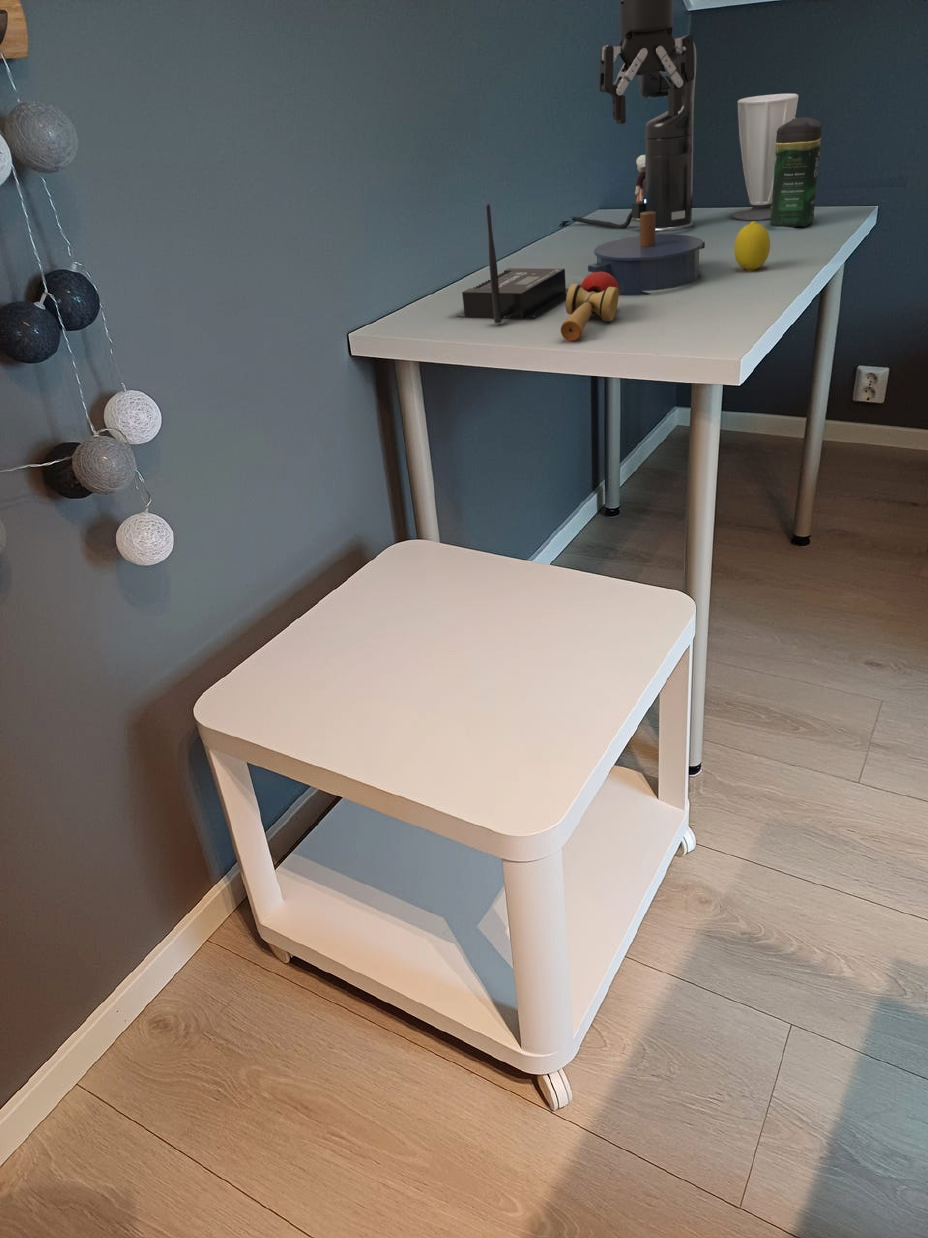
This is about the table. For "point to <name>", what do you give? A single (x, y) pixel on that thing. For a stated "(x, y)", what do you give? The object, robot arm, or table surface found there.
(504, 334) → the table surface
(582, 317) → the kendama
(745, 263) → the lemon
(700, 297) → the table surface
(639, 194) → the grandmother figurine
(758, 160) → the cup
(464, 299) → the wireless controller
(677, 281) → the pan
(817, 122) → the coffee jar
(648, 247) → the pan lid
